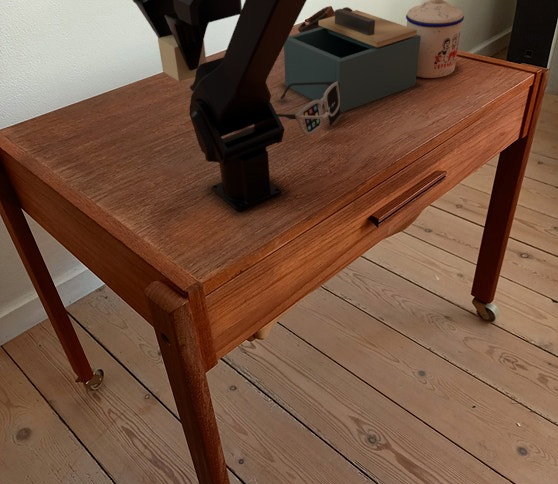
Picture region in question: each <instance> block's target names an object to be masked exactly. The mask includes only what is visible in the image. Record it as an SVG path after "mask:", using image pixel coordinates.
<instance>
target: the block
mask: <svg viewBox="0 0 558 484" xmlns="http://www.w3.org/2000/svg"><path fill="white" fill-rule="evenodd" d="M157 44H158V49H159V54H160V61H161V68H162V72H163V73H165V74H166V75H167V76H169V77H170V78H172V79H174V80H175V81H177V82H179V83H180V82H183V81H186V80H189V79H193V78H195V76H196V70H197V69H198V68H197V69H195V70H189V69H188V67H187V65H186V63H185V61H184V59H183V56H182V54H181V52H180V50H179V47H178V45H177V43H176V41H175V38H174V36H173V34H172V35H169V36H165V37H161V38H158V37H157ZM206 55H207V54H206V47H205V40H204V41H203V46H202V51H201V56H200V61H199V66H200V64H203V63H207V57H206ZM199 66H198V67H199Z"/></svg>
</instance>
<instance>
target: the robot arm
mask: <svg viewBox="0 0 558 484" xmlns="http://www.w3.org/2000/svg"><path fill="white" fill-rule="evenodd" d="M307 1H308V0H244V2H243V6H242V0H132V2H133V3H134V4H135V5H136V6H137V8H138V10H139V11H140V13H141V14H142V16H143V17H144V18H145V20H146V21H147V23H148V24H149V26H150V27H151V29H152V31H153V32H154V34H155V35H156V37H157V39H158V38H161V37H165V36H169V35H172V34H173V36H174V38H175V41H176V43H177V45H178V47H179V50H180V52H181V54H182V56H183V59H184V61H185V63H186V65H187V67H188V69H189V70H195V69H197V68H198V69H197V70H196V76H195V77H194V81H193V83H192V84H191V85H190V86H189V89H190V90H191V91H192V93H191V96H190V103H189V112H188V113H189V117H190V121H191V123H192V127H193V129H194V133H195V136H196V139H197V143H198V145H199V148H200V150H201V152H202V153H203V154H204V157H205V161H207V162H208V163H218V164H219V171H220V178H221V182H218V183H215V184H213V185H211V191H212V192H213V193H214V194H216V195H217V196H218V197H219V198H220V199H221V200H223V201H224V202H225V203H226V204H227V205H229V206H230V207H231V208H232V209H234V210H235V211H237V212H241V211H243V210H246V209H248V208H251V207H253V206H256V205H258V204H261V203H263V202H265V201H268V200H270V199H272V198H275V197H277V196H280V195H281V194H282V189H281V188H280V187H278V186H277V185H276V184H275V183H273V182H271V178H270V177H271V176H270V163H269V152H268V149H267V148H268V147H270V146H273V145H275V144H280V143H282V142H283V138H284V134H285V127H284V124H283V123H282V121H281V119H280V117H278V115H277V114H278V113H277V112H276V110H275V108H274V106H273V104H272V102H271V98H272V94H271V92H270V89H269V86H268V84H267V80H268V78H269V76H270V73H271V72H272V69H273V68H274V66H275V63H276V62H277V60H278V57H279V56H280V54H281V52H282V50H283V49H284V44H285V42H286V40H287V38H288V36H290V34H291V32H292V30H293V28H294V26H295V24H296V22H297V20H298V18H299V16H300V14H301V12H302V10H303V8H304V6H305V4H306V3H307ZM236 16H238V18H237V21H236V23H235V26H234V29H233V31H232V35H231V37H230V39H229V42H228V45H227V46H226V47H227V48H226V50H225V53H224V56H223V57H220V58H216V59H213V60H210V61H206V63H203V64H200V66H199V61H200V56H201V51H202V46H203V41H204V42H205V36H206V33H207V32H206V31H207V29H208V25H209V24H210V23H212V22H213V23H214V22H216V21H220V20H225V19H228V18H231V17H236ZM198 66H199V67H198ZM248 127H249V128H248ZM246 128H247V129H246ZM242 129H244V130H242ZM240 130H241V131H240ZM235 132H236V133H235ZM232 133H233V134H232ZM229 134H231V135H229ZM226 135H228V136H226ZM225 136H226V137H225Z"/></svg>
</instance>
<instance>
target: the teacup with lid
mask: <svg viewBox="0 0 558 484" xmlns="http://www.w3.org/2000/svg"><path fill="white" fill-rule="evenodd" d="M405 19H406V26H407V27H410V28H413V29H416V30H417V35H420V36H421V38H420V48H419V57H418V66H417V75H416V78H424V79H432V78H433V79H436V78H442V77H446V76H448V75H451V74H452V73H453V72H454V71H455V69H456V62H457V56H458V50H459V44H460V43H459V42H460V36H461V29H462V24H463V23H462V22H463V21H464V20H465V15H464V11H463V10H462V9H461V8H459V7H457V6H455V5H452V4H451V3H449V2H448V1H446V0H427V1H424V2H423V3H421V4H419V5H416V6H413V7H411V8H410V9H408V11H407V13H406V15H405Z"/></svg>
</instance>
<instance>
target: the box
mask: <svg viewBox="0 0 558 484" xmlns="http://www.w3.org/2000/svg"><path fill="white" fill-rule="evenodd" d="M420 38H421V36H420V35H417V34H416V35H415V36H412V37H409V38H406V39H403V40H399V41H396V42H393V43H390V44H387V45H384V46H381V47H374V46H372V45H369V44H367V43H364V42H361V41H359V40H356V39H353V38H351V37H348V36H345V35H343V34H340V33H337V32H335V31H332V30H329V29H327V28H324V27H319V28H316V29H312V30H309V31H305V32H302V33H300V32H299V33H295V34H292V35H289V36H288V38H287V40H286V42H285V44H284V46H283V59H284V60H283V62H284V63H283V64H284V84H285V87H287V86H288V85H289V84H291V83H305V82H331V81H336V82H337V81H338V85H339V95H340V106H339V107H340V112H341V114H342V113H344V112H347V111H349V110H353V109H355V108H357V107H361V106H364V105H367V104H369V103H371V102H372V103H373V102H375V101H377V100H379V99H382V98H385V97H388V96H391V95H393V94H396V93H399V92H402V91H405V90H407V89H410V88H412V87H415V86H416V83H417V76H416V75H417V66H418V57H419V48H420ZM329 87H330V86H329V85H325V84H322V85H294V86H291V87H290V88H289V90H290V89H291V90H292V91H294V92H296V93H298V94H300V95H301V96H304V97H306V98H308V99H310V100H312V101H314V100H321V99H322V98H323V96H324V93H325V91H326V90H327V89H328V88H329ZM323 106H324V107H325V105H324V103H323V105H322V107H323Z"/></svg>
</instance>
